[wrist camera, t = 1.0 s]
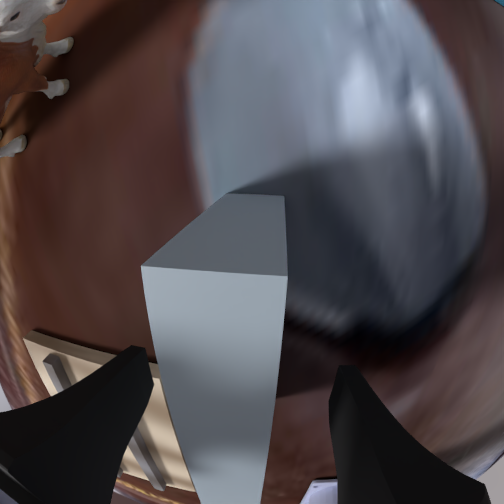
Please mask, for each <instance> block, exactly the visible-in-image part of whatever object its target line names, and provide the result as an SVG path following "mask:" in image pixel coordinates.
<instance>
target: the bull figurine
mask: <svg viewBox="0 0 504 504" xmlns="http://www.w3.org/2000/svg"><path fill="white" fill-rule="evenodd" d="M66 2H67V0H0V123H1V121H2V118H3V116H4V113H5V110H6V108H7V105H8V103H9V101H10V99H11V97H12V94H19V93H22V92H36V91H42V92H44V93H45V94H46V95H47V96H48V98H49V99H52V98H53V97H54V96H58V95H64V94H65V93H66V92H67V90H68V88H69V81H68V80H67V79H61V80H56V81H50V82H48V81H47V79H46V77H45V76H43V75H41V74H38V73H37V71H36V70H35V68H34V67H35V66H36V65H37V64H38V63H39V62H40V60H41V58H42V56H43V54H50V55H52V56H53V57H57V56H58V55H60V54H62V53H67V52H69V51H70V49H71V48H72V46H73V42H74V40H73V38H72V37H68V38H66V39H63V40H61V41H58V42H53V43H46V39H45V35H46V25H45V24H44V23H43V22H42V20H43V19H44V18H46V17H47V16H48V15H50V14H54V13H57V12H59V11H60V10H61V9H62V8H63V7H64V6H65V4H66ZM1 138H2V131H1V129H0V140H1ZM26 144H27V140H26V137H25V135H20V136H19V137H17V138H15V139H13V140H12V141H11V142H9V143H8V144H7V145H5V146H3V147H1V148H0V158H1V157H4V156H9V157H14V156H15V153H17V152H20V151H23V150H24V149H25V147H26Z"/></svg>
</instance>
